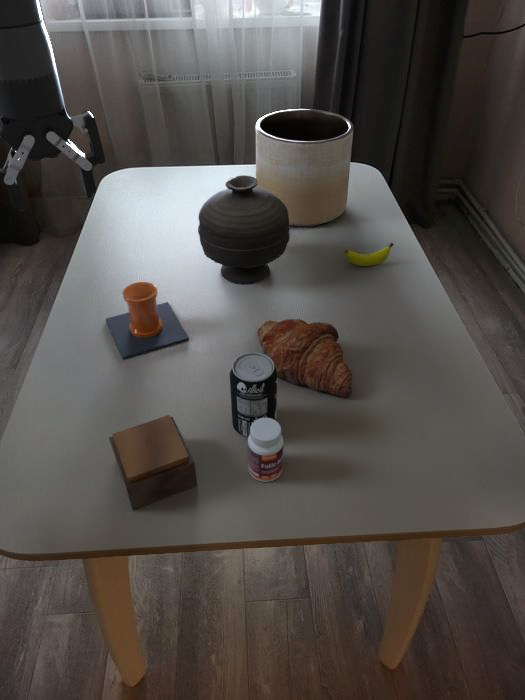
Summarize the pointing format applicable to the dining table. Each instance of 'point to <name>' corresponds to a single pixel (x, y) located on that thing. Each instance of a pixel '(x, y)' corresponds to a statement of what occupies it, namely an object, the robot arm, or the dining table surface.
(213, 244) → the pot
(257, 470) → the pill bottle
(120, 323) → the mat
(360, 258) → the fruit
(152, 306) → the spool
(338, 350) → the pastry
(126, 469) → the wooden box
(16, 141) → the robot arm
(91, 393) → the dining table surface
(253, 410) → the beverage can
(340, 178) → the planter
